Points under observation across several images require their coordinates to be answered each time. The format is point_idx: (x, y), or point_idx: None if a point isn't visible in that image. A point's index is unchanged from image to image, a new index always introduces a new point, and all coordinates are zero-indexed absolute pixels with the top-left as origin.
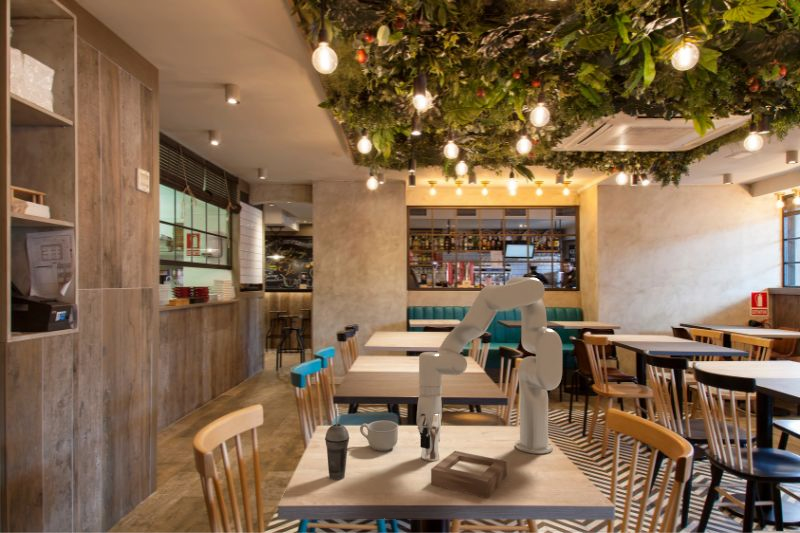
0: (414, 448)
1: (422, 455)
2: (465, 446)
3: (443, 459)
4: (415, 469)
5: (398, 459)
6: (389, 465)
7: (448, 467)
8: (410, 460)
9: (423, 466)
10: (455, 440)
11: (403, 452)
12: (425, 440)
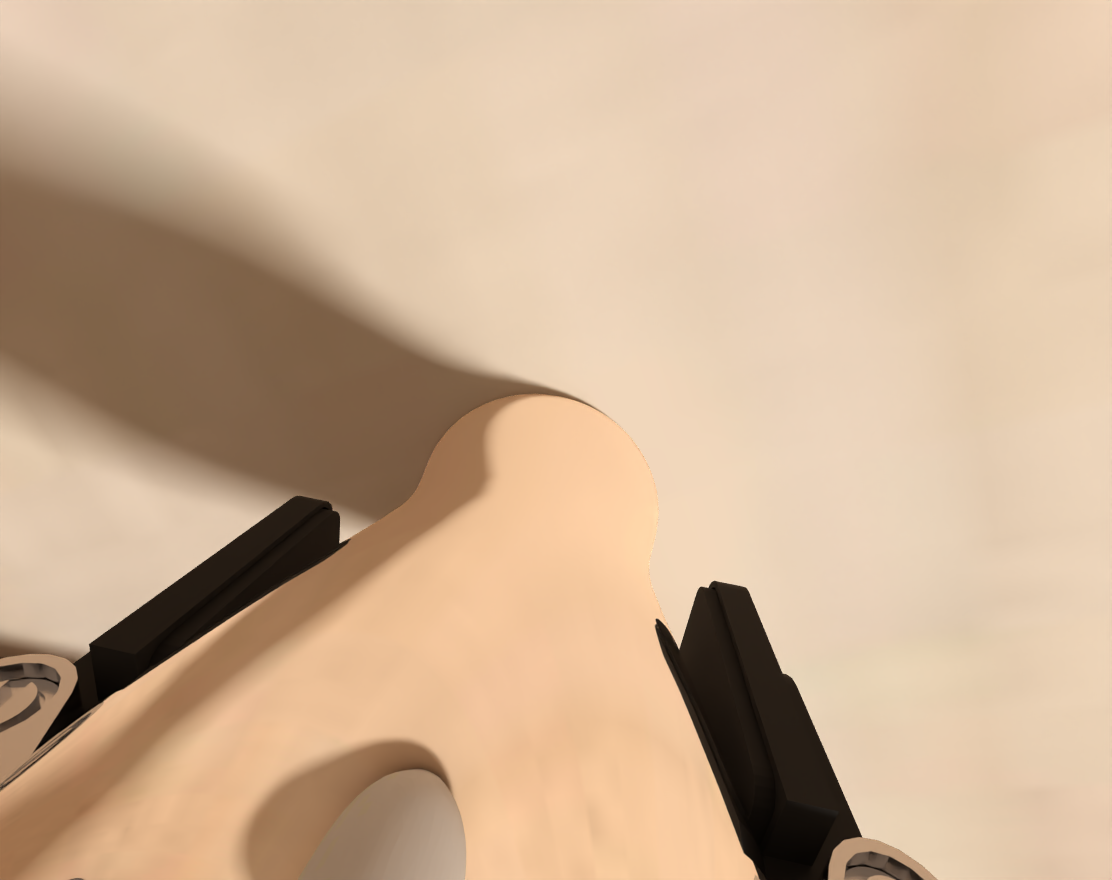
0: (861, 175)
1: (438, 448)
2: (1066, 800)
3: None
4: (146, 438)
5: (307, 101)
6: (53, 63)
7: None
8: (355, 292)
9: (266, 497)
10: None
11: (616, 53)
12: None
